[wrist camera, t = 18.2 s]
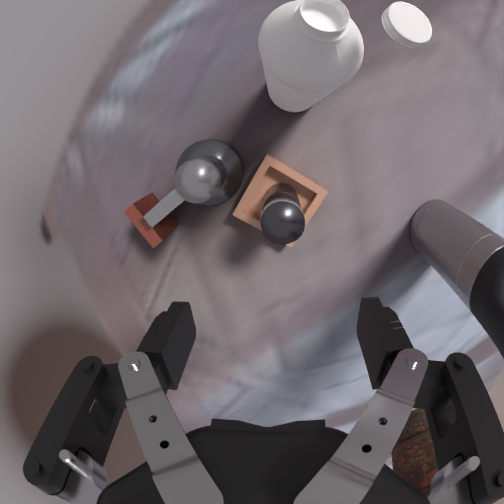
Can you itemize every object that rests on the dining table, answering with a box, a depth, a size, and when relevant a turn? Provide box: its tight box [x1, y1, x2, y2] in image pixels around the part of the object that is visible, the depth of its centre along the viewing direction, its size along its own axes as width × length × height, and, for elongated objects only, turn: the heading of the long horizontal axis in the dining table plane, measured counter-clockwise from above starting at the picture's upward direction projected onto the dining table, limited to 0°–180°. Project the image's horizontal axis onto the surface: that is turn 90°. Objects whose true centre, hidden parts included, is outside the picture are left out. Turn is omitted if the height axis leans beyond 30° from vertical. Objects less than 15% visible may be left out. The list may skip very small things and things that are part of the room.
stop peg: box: [260, 183, 305, 245], centre depth 32 cm, size 4×4×10 cm
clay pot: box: [392, 408, 439, 498], centre depth 46 cm, size 25×29×30 cm
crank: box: [124, 155, 226, 248], centre depth 33 cm, size 12×6×6 cm, turn 127°
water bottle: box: [258, 0, 432, 112], centre depth 19 cm, size 9×6×25 cm
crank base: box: [177, 140, 243, 205], centre depth 36 cm, size 9×9×1 cm
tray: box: [232, 153, 328, 247], centre depth 36 cm, size 9×9×2 cm
